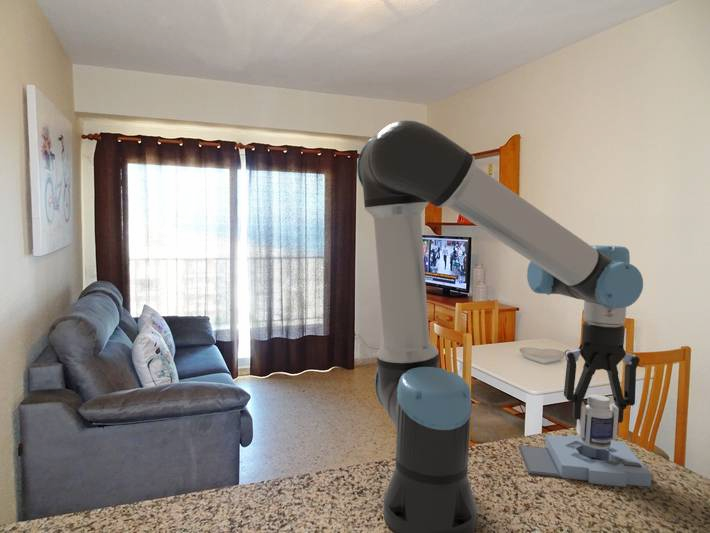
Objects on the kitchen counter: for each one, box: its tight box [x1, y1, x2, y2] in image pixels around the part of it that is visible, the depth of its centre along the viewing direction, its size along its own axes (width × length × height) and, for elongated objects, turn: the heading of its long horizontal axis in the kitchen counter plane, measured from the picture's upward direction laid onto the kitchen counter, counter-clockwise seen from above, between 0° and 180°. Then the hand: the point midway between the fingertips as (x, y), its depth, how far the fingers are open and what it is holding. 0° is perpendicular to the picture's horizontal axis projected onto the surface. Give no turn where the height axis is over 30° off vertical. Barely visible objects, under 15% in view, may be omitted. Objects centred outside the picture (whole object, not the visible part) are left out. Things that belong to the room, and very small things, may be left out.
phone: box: [517, 444, 562, 479], centre depth 101 cm, size 12×6×1 cm, turn 171°
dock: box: [544, 434, 653, 488], centre depth 100 cm, size 16×16×3 cm
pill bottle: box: [581, 394, 613, 449], centre depth 99 cm, size 5×5×10 cm
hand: (596, 435), depth 99 cm, fingers closed on pill bottle, 5 cm apart
